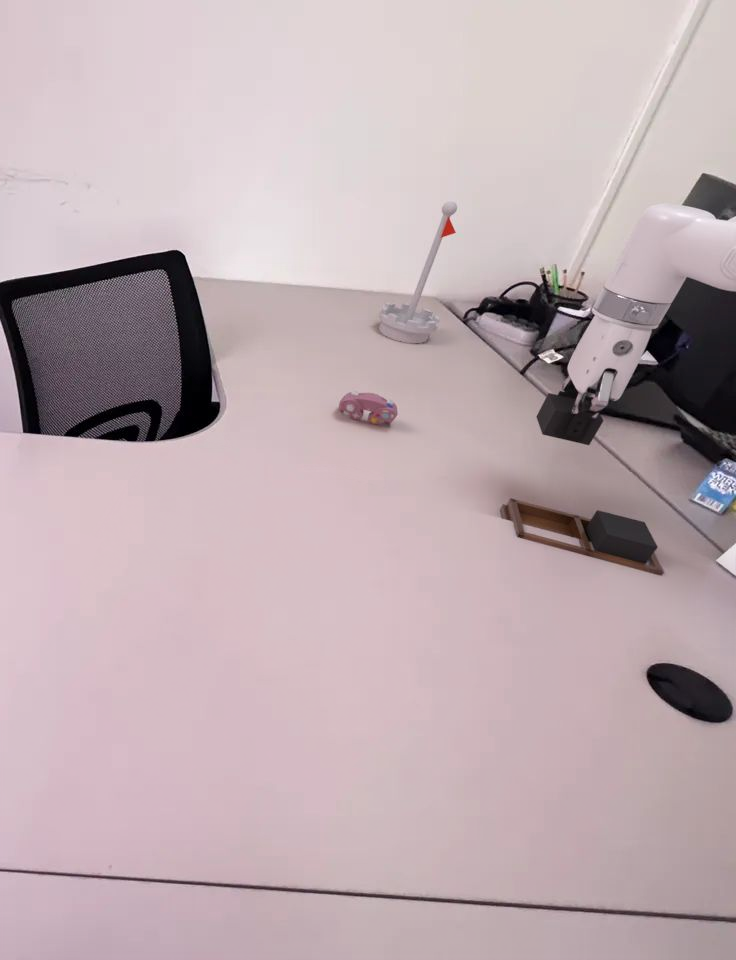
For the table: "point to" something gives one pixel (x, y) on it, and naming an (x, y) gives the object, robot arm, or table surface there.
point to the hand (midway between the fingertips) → (563, 427)
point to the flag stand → (417, 297)
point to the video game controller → (368, 407)
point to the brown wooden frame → (564, 532)
